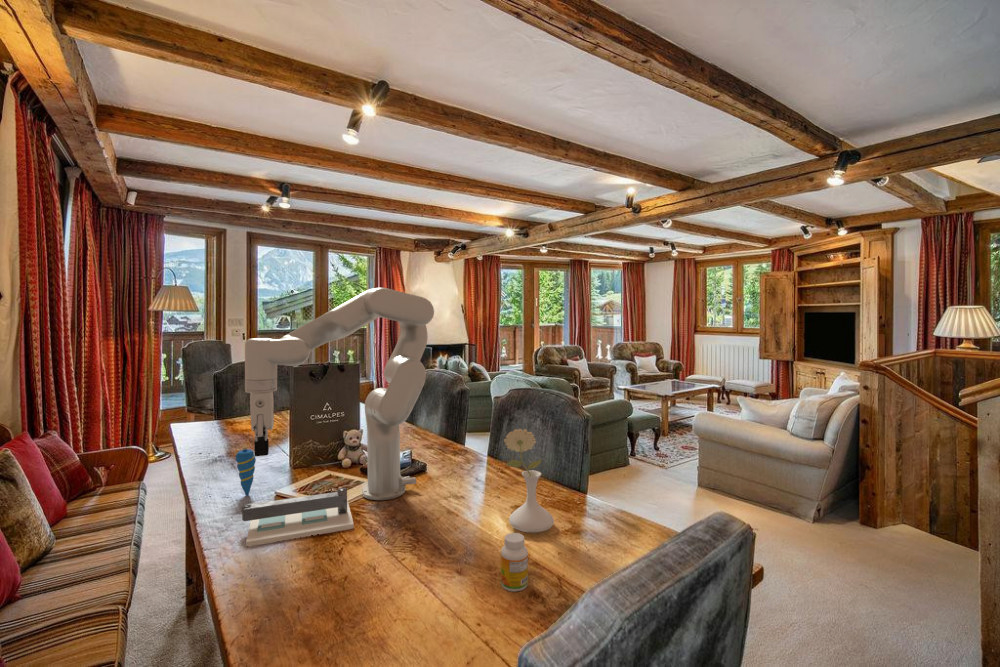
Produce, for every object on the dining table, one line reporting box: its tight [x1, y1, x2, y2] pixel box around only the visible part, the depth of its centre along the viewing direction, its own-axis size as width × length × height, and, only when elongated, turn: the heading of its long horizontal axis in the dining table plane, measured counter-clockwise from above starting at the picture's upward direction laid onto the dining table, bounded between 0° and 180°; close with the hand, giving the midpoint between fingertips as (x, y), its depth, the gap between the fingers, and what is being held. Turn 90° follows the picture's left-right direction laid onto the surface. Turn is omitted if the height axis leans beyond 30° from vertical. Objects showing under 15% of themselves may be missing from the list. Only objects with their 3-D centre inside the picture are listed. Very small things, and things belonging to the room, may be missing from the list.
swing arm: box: [241, 487, 348, 522], centre depth 122 cm, size 25×3×6 cm, turn 113°
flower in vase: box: [503, 428, 555, 534], centre depth 121 cm, size 13×11×25 cm
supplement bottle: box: [500, 532, 529, 593], centre depth 96 cm, size 5×5×10 cm
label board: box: [245, 500, 355, 547], centre depth 123 cm, size 24×16×2 cm, turn 113°
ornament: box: [235, 445, 257, 496], centre depth 141 cm, size 5×5×15 cm
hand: (261, 454), depth 125 cm, fingers closed
